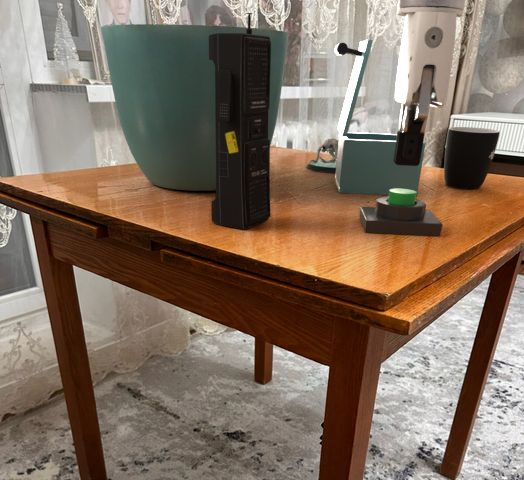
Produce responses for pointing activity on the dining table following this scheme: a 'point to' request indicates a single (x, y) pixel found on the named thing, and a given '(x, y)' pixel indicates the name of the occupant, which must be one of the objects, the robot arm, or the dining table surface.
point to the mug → (468, 156)
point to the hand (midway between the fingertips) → (406, 164)
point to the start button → (402, 196)
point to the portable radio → (241, 128)
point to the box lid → (353, 81)
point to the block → (399, 219)
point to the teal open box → (372, 165)
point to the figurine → (325, 165)
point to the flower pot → (176, 97)
